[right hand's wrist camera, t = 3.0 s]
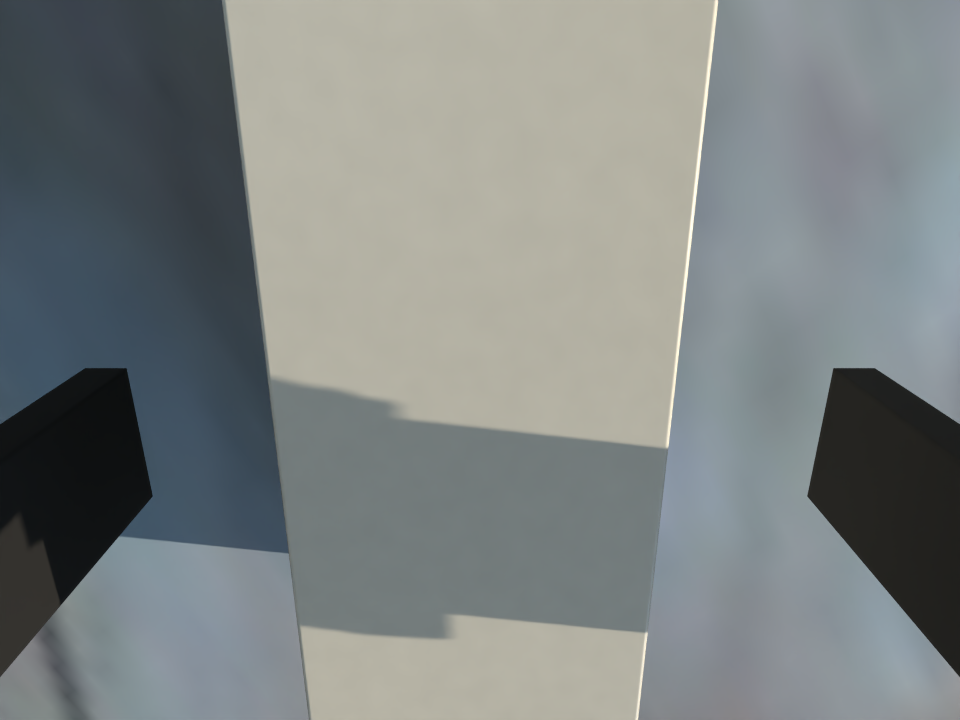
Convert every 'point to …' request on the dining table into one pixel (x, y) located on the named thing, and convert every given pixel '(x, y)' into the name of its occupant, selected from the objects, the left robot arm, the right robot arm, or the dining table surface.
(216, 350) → the dining table surface
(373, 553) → the beam
